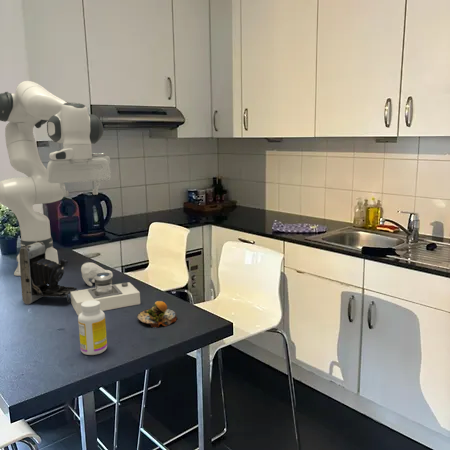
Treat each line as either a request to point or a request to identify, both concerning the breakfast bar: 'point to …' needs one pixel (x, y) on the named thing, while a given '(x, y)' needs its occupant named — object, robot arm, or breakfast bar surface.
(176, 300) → the breakfast bar surface
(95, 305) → the supplement bottle
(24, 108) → the robot arm
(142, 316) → the burger
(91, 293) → the camera body
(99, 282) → the lens
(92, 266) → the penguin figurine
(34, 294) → the vintage camera
